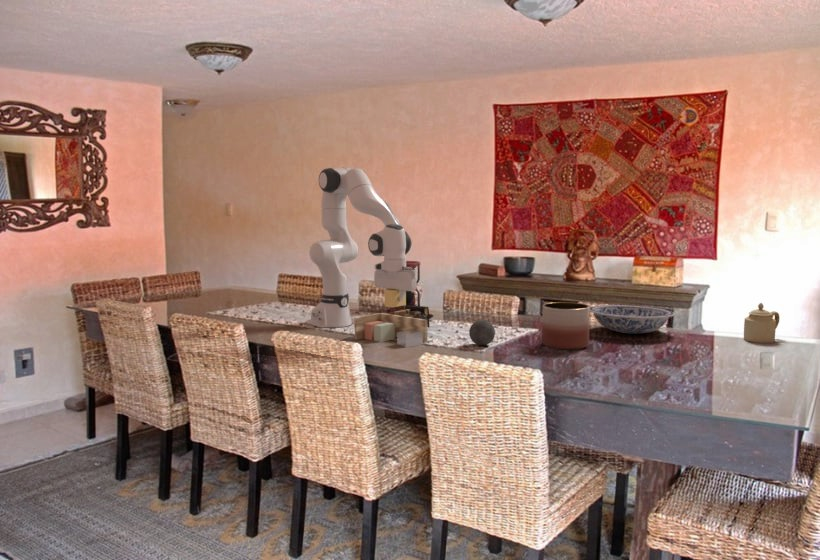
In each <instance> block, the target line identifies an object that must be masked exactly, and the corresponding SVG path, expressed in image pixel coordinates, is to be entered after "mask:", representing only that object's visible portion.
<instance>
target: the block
mask: <svg viewBox="0 0 820 560" xmlns="http://www.w3.org/2000/svg"><path fill="white" fill-rule="evenodd" d="M396 340H397V341H396V345H398V346H400V347H404V348H409V347H415V346H416V347H417V346H421V345H422V346H423V344H424V342H423V332H419V331H415V330H411V331H404V332H397V337H396Z"/></svg>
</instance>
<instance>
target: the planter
mask: <svg viewBox="0 0 820 560" xmlns="http://www.w3.org/2000/svg"><path fill="white" fill-rule="evenodd" d="M589 308H590V305H588V304H585V303H580V302H573V301H571V302H570V301H569V302H568V301H557V302H556V301H555V302H552V301H551V302H546V303H543V304H542V319H541V320H542V322H541V323H542V324H541V326H542V327H541V343H542V345H544V346H545V347H548V348H551V349H553V350H565V351H572V350H573V351H574V350H575V351H576V350H582V349H585V348H586V347H588V346H589V343H590V311H589Z"/></svg>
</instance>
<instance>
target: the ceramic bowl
mask: <svg viewBox="0 0 820 560" xmlns="http://www.w3.org/2000/svg"><path fill="white" fill-rule="evenodd" d="M589 313H592V314H593V316H594V318H595V320H596V321H597V322H598V323H599V324H600V325H601V326H602V327H604V328H605V329H608V330H611V331H613V332H618V333H622V334H623V333H625V334H629V335H630V334H631V335H634V334H646V333H647V334H648V333H652V332H655V331H657V330H659V329H660V328H661V329H662V327H663V326H664V325H665V324H666V323H667V322H668V320H669V318H672V317H674V316H675V315H676V314H675V312H674V311H671V310H668V309H664V308H659V307H653V306H645V305H644V306H643V305H641V306H640V305H628V304H625V305H624V304H606V305H605V304H603V305H602V304H601V305H595V306H591V307H590V306H589Z"/></svg>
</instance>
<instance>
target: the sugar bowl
mask: <svg viewBox="0 0 820 560" xmlns="http://www.w3.org/2000/svg"><path fill="white" fill-rule="evenodd" d="M757 308H758V309H753V310H751V311H750V312H748V314H749V315H748V316H747V317H745V318H744V320H743V321H744V322H743V323H744V324H743V340H744V341H747V342H750V343H751V342H752V343H757V344H758V343H759V344H772V343H775V341H776V340H775V339H776V329H777V328H778V326H779V323H780V313H778V312H777V311H775V310H774V311H769V310H765V309H764V304H763V303H762V302H760V303H759V304H758V305H757Z"/></svg>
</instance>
